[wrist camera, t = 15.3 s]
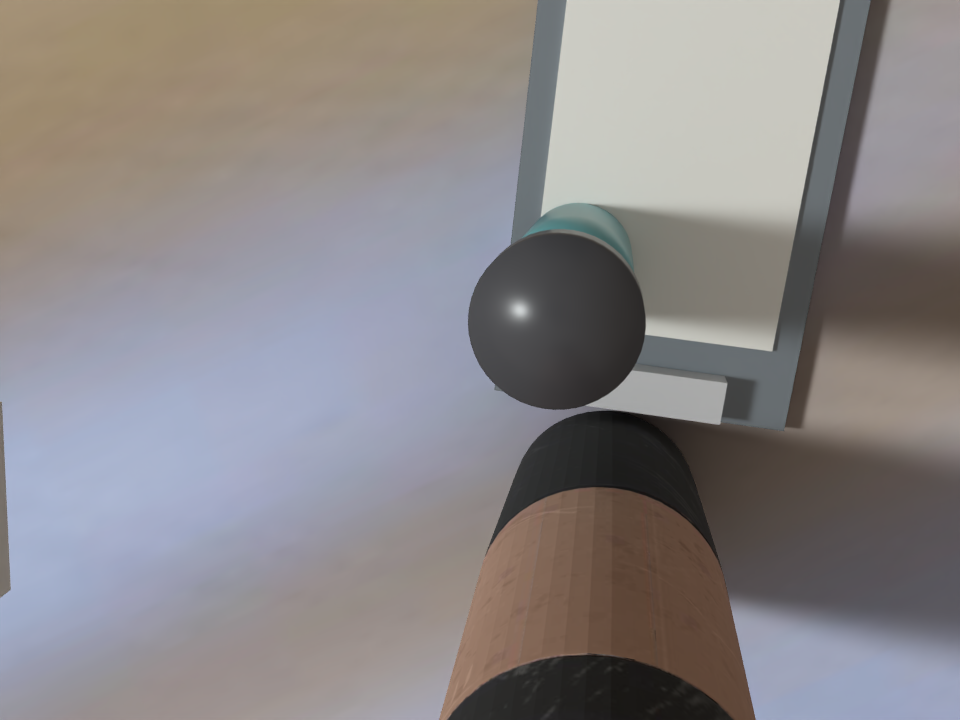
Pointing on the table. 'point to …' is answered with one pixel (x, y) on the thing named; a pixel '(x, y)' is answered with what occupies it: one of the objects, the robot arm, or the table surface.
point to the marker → (560, 310)
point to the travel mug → (600, 589)
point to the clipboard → (698, 178)
